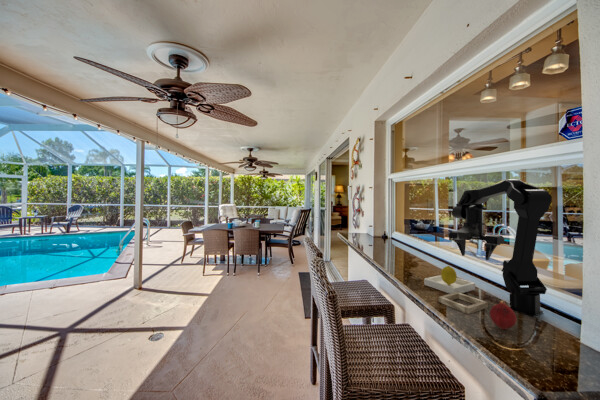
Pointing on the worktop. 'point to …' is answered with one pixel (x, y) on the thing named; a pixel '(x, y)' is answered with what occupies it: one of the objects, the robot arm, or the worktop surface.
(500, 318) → the onion
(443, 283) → the dish
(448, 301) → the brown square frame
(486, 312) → the worktop surface
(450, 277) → the lemon
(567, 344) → the worktop surface
